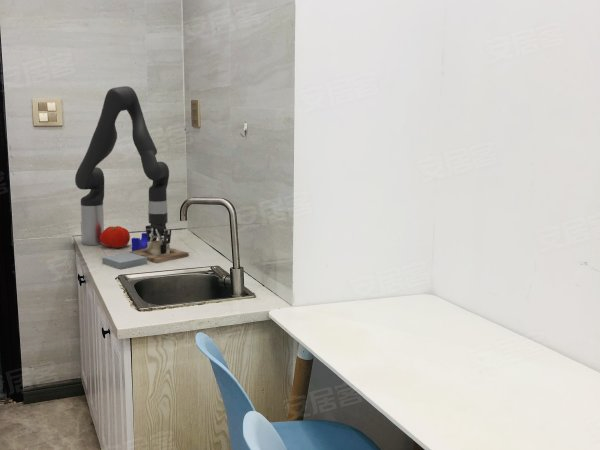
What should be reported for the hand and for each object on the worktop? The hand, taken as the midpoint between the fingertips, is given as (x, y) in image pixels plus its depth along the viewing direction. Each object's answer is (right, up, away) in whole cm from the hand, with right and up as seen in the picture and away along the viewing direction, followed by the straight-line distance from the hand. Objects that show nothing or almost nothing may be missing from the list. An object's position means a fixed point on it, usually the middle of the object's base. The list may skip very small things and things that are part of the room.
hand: (158, 252), depth 254 cm
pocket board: (0, -2, 0) cm, 1 cm away
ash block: (0, -2, 0) cm, 2 cm away
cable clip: (-11, 0, +11) cm, 16 cm away
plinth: (-10, -4, -13) cm, 17 cm away
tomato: (-22, +1, +14) cm, 26 cm away
